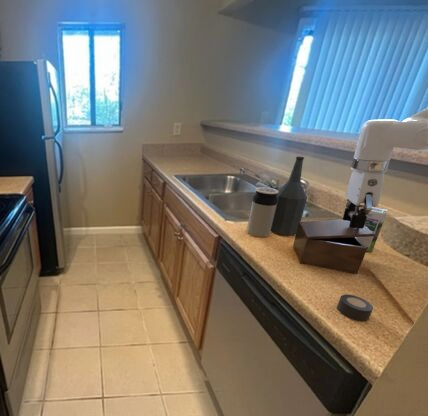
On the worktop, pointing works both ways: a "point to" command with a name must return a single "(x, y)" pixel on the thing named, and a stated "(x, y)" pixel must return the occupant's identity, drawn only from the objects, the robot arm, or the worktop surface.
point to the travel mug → (262, 212)
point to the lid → (333, 229)
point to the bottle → (290, 203)
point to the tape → (355, 307)
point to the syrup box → (373, 227)
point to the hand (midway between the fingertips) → (352, 223)
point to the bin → (330, 252)
